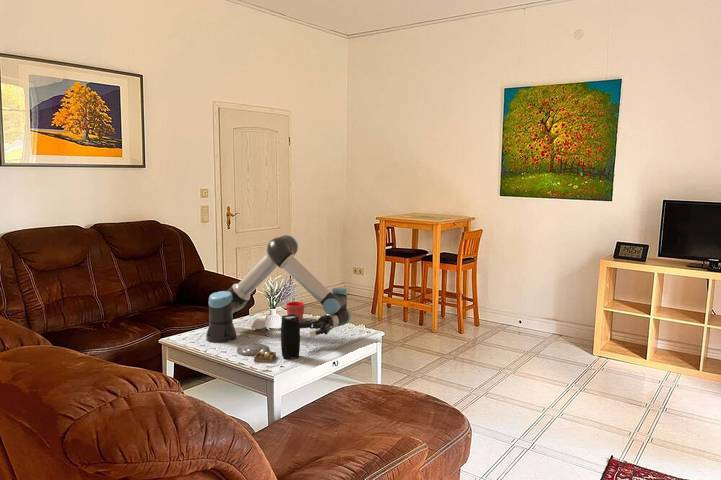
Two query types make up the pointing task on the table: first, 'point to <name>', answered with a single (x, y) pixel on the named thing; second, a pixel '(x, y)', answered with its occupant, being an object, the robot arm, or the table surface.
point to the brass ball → (267, 354)
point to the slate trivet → (251, 349)
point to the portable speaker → (290, 336)
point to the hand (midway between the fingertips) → (299, 331)
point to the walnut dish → (264, 359)
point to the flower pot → (295, 309)
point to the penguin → (258, 323)
